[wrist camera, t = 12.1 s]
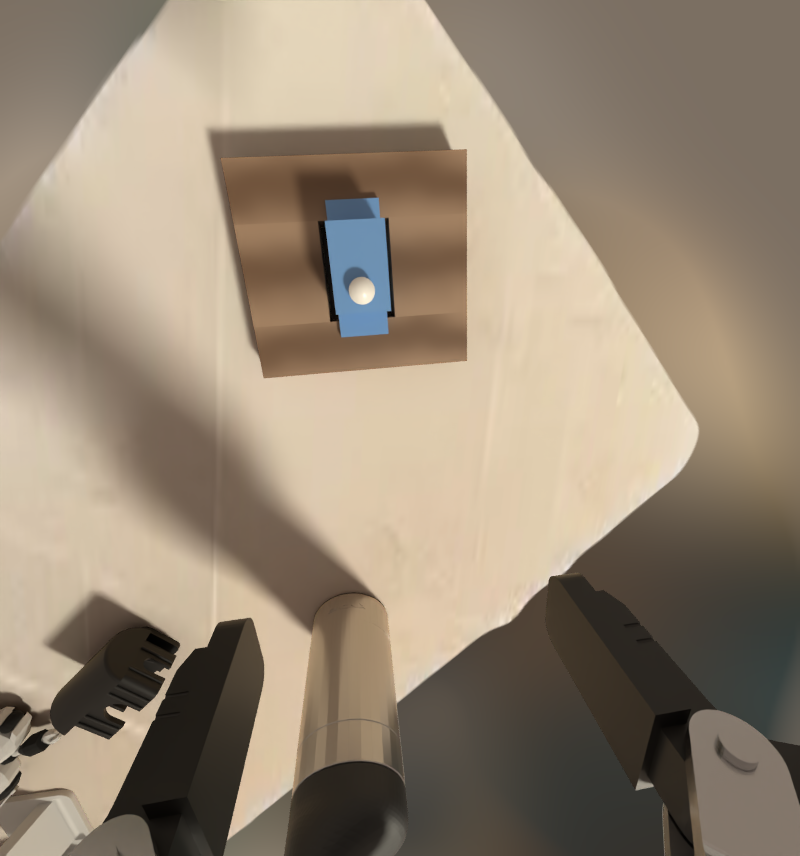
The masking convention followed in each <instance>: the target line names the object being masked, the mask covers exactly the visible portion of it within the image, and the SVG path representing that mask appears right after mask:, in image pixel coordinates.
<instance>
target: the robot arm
mask: <svg viewBox="0 0 800 856" xmlns="http://www.w3.org/2000/svg"><path fill="white" fill-rule="evenodd" d="M545 622H546V628H547V631H548V635H549V637H550V640H551V642H552V644H553V646H554V647H555V649H556V651H557V653H558V655H559V656H560V658H561V660H562V662H563V663H564V665H565V667H566V669H567V670H568V672H569V674H570V676H571V677H572V679H573V681H574V683H575V684H576V686H577V688H578V690H579V692H580V693H581V695H582V697H583V699H584V700H585V702H586V704H587V706H588V707H589V709H590V711H591V713H592V714H593V716H594V718H595V720H596V721H597V723H598V725H599V727H600V729H601V730H602V732H603V734H604V735H605V737H606V739H607V741H608V743H609V744H610V746H611V748H612V750H613V751H614V753H615V755H616V757H617V758H618V760H619V762H620V764H621V766H622V767H623V769H624V771H625V773H626V774H627V776H628V778H629V780H630V781H631V783H632V785H633V787H634V788H635V790H639V789H644V788H649V787H655V789H656V791H657V792H658V794H659V796H660V797H661V799H662V800H663V802H664V804H663V833H664V852H665V856H800V746H798V745H793V744H787V743H782V742H776V741H772V740H768V739H766V738H765V737H764V736H763V735H762V734H761V733H759V732H758V731H757V730H756V729H754V728H753V727H752V726H750V725H749V724H747V723H745V722H744V721H742V720H740V719H739V718H737V717H735V716H732V715H730V714H728V713H725V712H722V711H718V710H717V709H715V707H714V706H713V705H712V704H711V703H710V702H709V701H708V700H707V699H706V698H705V697H704V695H703V694H702V693H701V692H700V691H699V690H698V688H697V687H696V686H695V685H694V684H693V683H692V682H691V680H690V679H689V678H688V677H687V676H686V675H685V674H684V673H683V671H682V670H681V669H680V668H679V667H678V666H677V664H676V663H675V662H674V661H673V660H672V659H671V658H670V656H669V655H668V654H667V653H666V652H665V651H664V649H663V648H662V647H661V646H660V645H659V644H658V643H657V641H654V640H653V637H652V636H651V635H650V634H649V632H648V631H647V630H646V629H645V628H644V627H643V626H641V625H640V622H639V621H638V620H637V619H636V617H635V616H634V615H633V614H632V613H631V612H630V611H629V609H628V608H627V607H626V606H625V605H624V604H623V603H621V602H620V601H618V600H617V599H616V598H614V597H613V596H611V595H610V594H608V593H607V592H605V591H604V590H602V591H595V590H594V588H593V587H592V586H591V585H590V584H589V582H588V581H587V580H586V579H585V577H583V575H581V574H580V573H572V574H565V575H558V576H551V577H550V579H549V583H548V594H547V605H546V614H545ZM263 681H264V661H263V656H262V653H261V649H260V645H259V641H258V638H257V634H256V630H255V626H254V623H253V620H252V619H251V618H245V619H238V620H231V621H224V622H220V623H218V624H217V626H216V628H215V630H214V632H213V634H212V637H211V639H210V642H209V644H208V646H207V647H205V648H198V649H195V650H194V651H193V652H192V653H191V654H190V656H189V657H188V658H187V659H186V660H185V661H184V663H183V664H182V665H181V666H180V667H179V668H178V670H177V671H176V673H175V675H174V677H173V680H172V682H171V684H170V686H169V688H168V690H167V692H166V694H165V695H166V697H165V699H164V700H163V701H162V703H161V705H160V707H159V709H158V711H157V713H156V719H155V721H153V722H152V724H151V726H150V728H149V730H148V733H147V735H146V737H145V739H144V741H143V743H142V745H141V747H140V749H139V752H138V754H137V756H136V758H135V760H134V762H133V764H132V766H131V769H130V771H129V773H128V775H127V777H126V779H125V781H124V783H123V785H122V788H121V790H120V792H119V794H118V796H117V798H116V800H115V802H114V805H113V806H112V808H111V810H110V812H109V814H108V816H107V817H106V819H105V820H104V822H103V824H102V825H100V826H99V827H97V828H96V829H94V830H93V831H92V832H91V833H90V834H88V835H87V836H86V837H85V838H84V839H83V840H82V841H81V842H80V843H79V844H78V845H77V846H76V847H75V848H74V849H73V850H72V852H71V853H70V854H69V855H68V856H223V854H224V849H225V845H226V842H227V837H228V833H229V829H230V824H231V820H232V816H233V812H234V807H235V803H236V799H237V794H238V790H239V786H240V782H241V777H242V773H243V769H244V764H245V760H246V756H247V752H248V747H249V743H250V739H251V734H252V730H253V726H254V722H255V717H256V713H257V709H258V705H259V700H260V696H261V692H262V687H263ZM407 828H408V808H407V799H406V788H405V779H404V769H403V760H402V750H401V742H400V733H399V723H398V713H397V703H396V693H395V684H394V674H393V664H392V655H391V644H390V635H389V626H388V616H387V612H386V610H385V608H384V607H383V605H382V604H381V603H380V602H379V601H377V600H376V599H374V598H372V597H370V596H367V595H364V594H356V593H353V594H344V595H339V596H337V597H334V598H332V599H330V600H329V601H327V602H325V603H324V604H323V605H322V606H321V607H320V608H319V610H318V611H317V613H316V615H315V618H314V623H313V631H312V638H311V646H310V653H309V661H308V669H307V677H306V685H305V693H304V701H303V709H302V717H301V725H300V733H299V741H298V749H297V759H296V767H295V775H294V783H293V791H292V799H291V808H290V817H289V824H288V832H287V839H286V846H285V854H284V856H394V855H395V854H396V853H397V851H398V850H399V849H400V847H401V846H402V844H403V842H404V840H405V837H406V833H407Z"/></svg>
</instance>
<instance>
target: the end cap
mask: <svg viewBox="0 0 800 856" xmlns="http://www.w3.org/2000/svg"><path fill="white" fill-rule="evenodd" d="M179 647H180V643H179V642H177V641H175V640H173V639H171V638H170V637H168V636H166V635H164V634H162V633H160V632H158V631H156V630H154V629H152V628H148V627H142V628H130V629H127V630H124V631H122V632H120V633H118V634H117V635H116V636H114V637H113V638H112V639H111V640H110V641H109V642H108V643H107V644H106V645H105V646H104V647H103V648H102V649H101V650H100V651H99V652H98V653H97V654H96V655H95V656H94V657H93V658H92V659H91V660H90V661H89V662H88V663H87V664H86V665H85V666H84V667H83V668H82V669H81V670H80V671H79V672H78V673H77V674H76V675H75V676H74V677H73V678H72V679H71V680H70V681H69V682H68V683H67V684H66V685H65V686H64V687H63V688H62V689H61V690H60V691H59V692H58V694H57V695H56V697H55V699H54V701H53V703H52V706H51V711H50V718H51V722H52V725H53V726H54V728H55V729H56V730H57V731H58V732H59V733H61V734H62V735H66V734H67V733H68V732H69V731H70V730H71V729H72V728H73V727H74V726H77V727H79V728H82V729H84V730H87V731H89V732H92V733H94V734H97V735H99V736H101V737H104V738H106V739H110V738H111V737H112V736H113V735H114V734H115V733H117V732H118V731H119V730H120V729H121V728H122V727H123V726H124V724H125V722H124V721H122V720H120V719H117V718H115V717H113V716H111V715H109V714H108V713H107V711H106V707H108V706H110V707H112V708H114V709H117V710H119V711H121V712H124V711H125V709H126V707H127V706H128V707H131V708H133V709H135V710H137V711H140V710H142V709H143V708H144V707H145V706H146V705H147V704H148V703H149V702H150V701H151V700H152V699H153V698H154V697H155V696H156V695H157V693H158V692H159V690H160V688H161V686H162V684H163V682H164V680H165V678H163V677H161V676H159V675H157V674H155V673H154V672H156V671H159V672H160V671H161V670H162V669H163V668H166V669H168V670H169V669H170V668H171V666H172V664H173V662H174V660H175V658H176V655H174V654H175V653H176V652H177V651H178V649H179Z"/></svg>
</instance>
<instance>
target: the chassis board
mask: <svg viewBox="0 0 800 856" xmlns="http://www.w3.org/2000/svg"><path fill="white" fill-rule="evenodd" d="M221 162H222V168H223V173H224V178H225V183H226V188H227V193H228V198H229V203H230V208H231V214H232V219H233V224H234V229H235V234H236V239H237V244H238V249H239V254H240V259H241V265H242V270H243V275H244V280H245V285H246V290H247V295H248V300H249V305H250V310H251V316H252V321H253V326H254V331H255V336H256V341H257V346H258V351H259V356H260V361H261V367H262V372H263V377H264V378H272V377H284V376H295V375H307V374H318V373H330V372H342V371H353V370H365V369H376V368H388V367H400V366H411V365H423V364H434V363H446V362H458V361H467V149H464V150H435V151H406V152H378V153H349V154H321V155H292V156H264V157H235V158H221ZM362 198H379V210H380V218H385V224H386V237H387V252H388V266H389V281H390V296H391V310H392V315H388V316H387V318H388V332H389V334H379V335H366V336H353V337H341V331H340V323H339V319H334V320H332V314H331V306H330V298H329V290H328V281H327V273H326V265H325V257H324V249H323V241H322V233H321V227H325V221H327V213H326V204H325V200H340V199H362Z"/></svg>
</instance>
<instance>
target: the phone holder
mask: <svg viewBox="0 0 800 856" xmlns="http://www.w3.org/2000/svg"><path fill="white" fill-rule="evenodd" d="M5 799H6V798H4V799H3V800H1V801H0V804H1V803H2V802H3V801H4V800H5ZM0 825H1V827H2V828H3V830H4V831H5V833H6V834H7V836H8V837H9V838H8V839H7V840H6V841H5V842H4V843H3V845H2V846H1V847H0V856H68V855H69V854H70V853H71V852H72V850H73V849H74V848H75V847H76V846H77V845H78V844H79V843H80V842H81V841H82V840H83V839H84V838H85V837H86V836H87V835H88V834H90V833H91V832H92V831H93V830H94V828H93V826H92V824H91V823H90V821H89V819H88V817H87V815H86V813H85V811H84V810H83V808H82V806H81V804H80V802H79V800H78V798H77V796H76V795H75V793H74V792H73V791H71V790H67V789H60V790H53V791H46V792H39V793H32V794H25V795H18V796H11V797H9V798H8V799H7V800H6V802H5V803H4V804H3V805H2V806H1V807H0Z"/></svg>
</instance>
